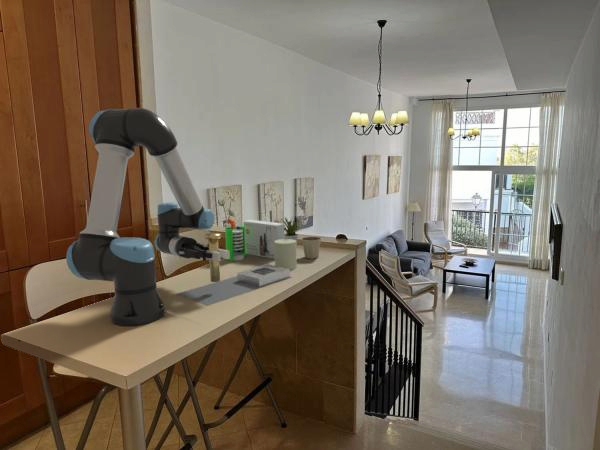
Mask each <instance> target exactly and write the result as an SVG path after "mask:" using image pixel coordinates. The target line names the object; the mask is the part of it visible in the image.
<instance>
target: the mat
mask: <svg viewBox="0 0 600 450" xmlns="http://www.w3.org/2000/svg"><path fill="white" fill-rule="evenodd" d="M291 278H293V277H292V276H290V277H288V278H285V279H282V280H279V281H276V282H273V283H270V284H267V285H264V286H261V287H257V286H254V285H250V284H247V283H243V282H240V281H238V280H237V275H235V276H233V277H230V278H226V279H222V280H220V281H219V282H211V283H210V284H209V283H208V284H206V285H201V286H198V287H195V288H191V289H188V290H184V291H182V292H179V293H176V295H178V296H180V297H183V298H185V299H189V300H190V301H193V302H196V303H200V304H202V305H205V306H212V305H215V304H217V303H220V302H223V301H227V300H229V299H232V298H235V297H238V296H241V295H244V294H246V293H247V294H248V293H251V292H253V291H256V290H259V289H262V288H265V287H268V286H271V285H275V284H277V283H280V282H282V281H286V280H288V279H291Z"/></svg>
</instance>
